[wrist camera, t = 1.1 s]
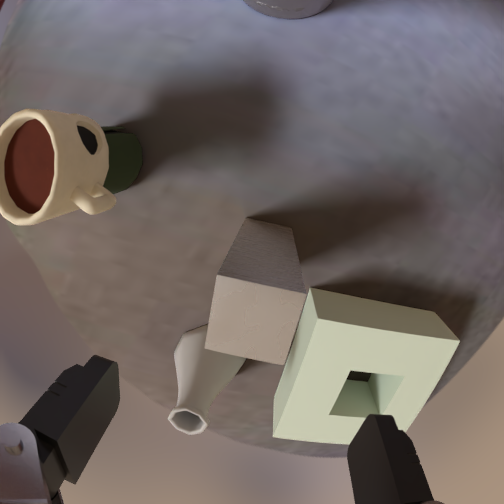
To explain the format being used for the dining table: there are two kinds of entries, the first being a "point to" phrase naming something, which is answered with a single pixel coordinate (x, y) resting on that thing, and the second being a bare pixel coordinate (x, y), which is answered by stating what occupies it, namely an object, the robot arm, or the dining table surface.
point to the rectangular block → (257, 294)
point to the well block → (358, 366)
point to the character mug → (62, 165)
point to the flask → (199, 380)
